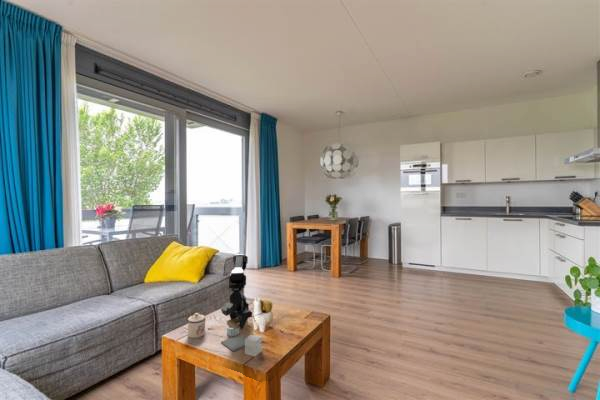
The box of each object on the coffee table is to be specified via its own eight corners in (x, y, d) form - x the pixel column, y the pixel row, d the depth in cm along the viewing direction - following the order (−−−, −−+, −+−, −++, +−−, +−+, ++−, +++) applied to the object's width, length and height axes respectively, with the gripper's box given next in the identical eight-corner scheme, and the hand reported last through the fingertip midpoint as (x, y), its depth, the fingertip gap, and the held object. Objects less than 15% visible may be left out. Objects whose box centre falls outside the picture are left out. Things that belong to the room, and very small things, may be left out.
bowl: (235, 329, 165) (235, 322, 165) (241, 333, 161) (241, 326, 161) (224, 333, 161) (224, 325, 161) (230, 337, 156) (230, 329, 156)
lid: (239, 320, 155) (239, 314, 155) (247, 325, 150) (247, 319, 150) (227, 324, 150) (227, 318, 150) (234, 329, 145) (234, 323, 145)
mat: (241, 335, 159) (241, 334, 159) (253, 343, 150) (253, 342, 150) (220, 342, 150) (220, 341, 150) (233, 352, 142) (233, 350, 142)
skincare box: (255, 357, 137) (255, 341, 137) (244, 354, 140) (244, 338, 140) (262, 350, 143) (262, 335, 143) (251, 348, 145) (251, 333, 145)
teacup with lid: (198, 339, 154) (198, 317, 153) (183, 337, 156) (183, 315, 156) (211, 329, 165) (211, 309, 165) (198, 327, 168) (198, 307, 168)
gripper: (214, 295, 151) (214, 325, 151) (233, 305, 137) (233, 338, 138) (233, 290, 159) (233, 319, 159) (252, 299, 145) (252, 331, 145)
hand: (237, 326), depth 150 cm, fingers closed on lid, 7 cm apart
